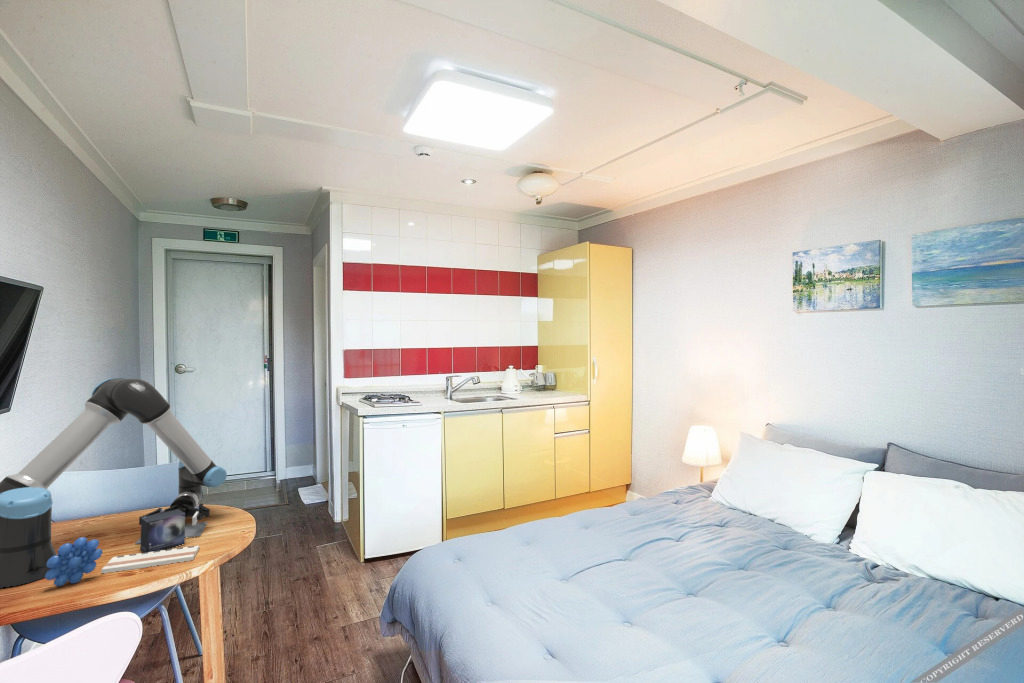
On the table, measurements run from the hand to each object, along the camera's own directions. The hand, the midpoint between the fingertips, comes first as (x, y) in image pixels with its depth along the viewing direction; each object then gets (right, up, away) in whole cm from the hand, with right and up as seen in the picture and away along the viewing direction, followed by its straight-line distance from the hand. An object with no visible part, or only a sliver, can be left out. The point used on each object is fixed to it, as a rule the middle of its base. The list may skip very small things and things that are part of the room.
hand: (169, 524), depth 159 cm
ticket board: (+5, -6, -14) cm, 16 cm away
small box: (+1, -6, -4) cm, 7 cm away
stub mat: (-4, -6, +8) cm, 10 cm away
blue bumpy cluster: (-7, -6, -27) cm, 28 cm away
